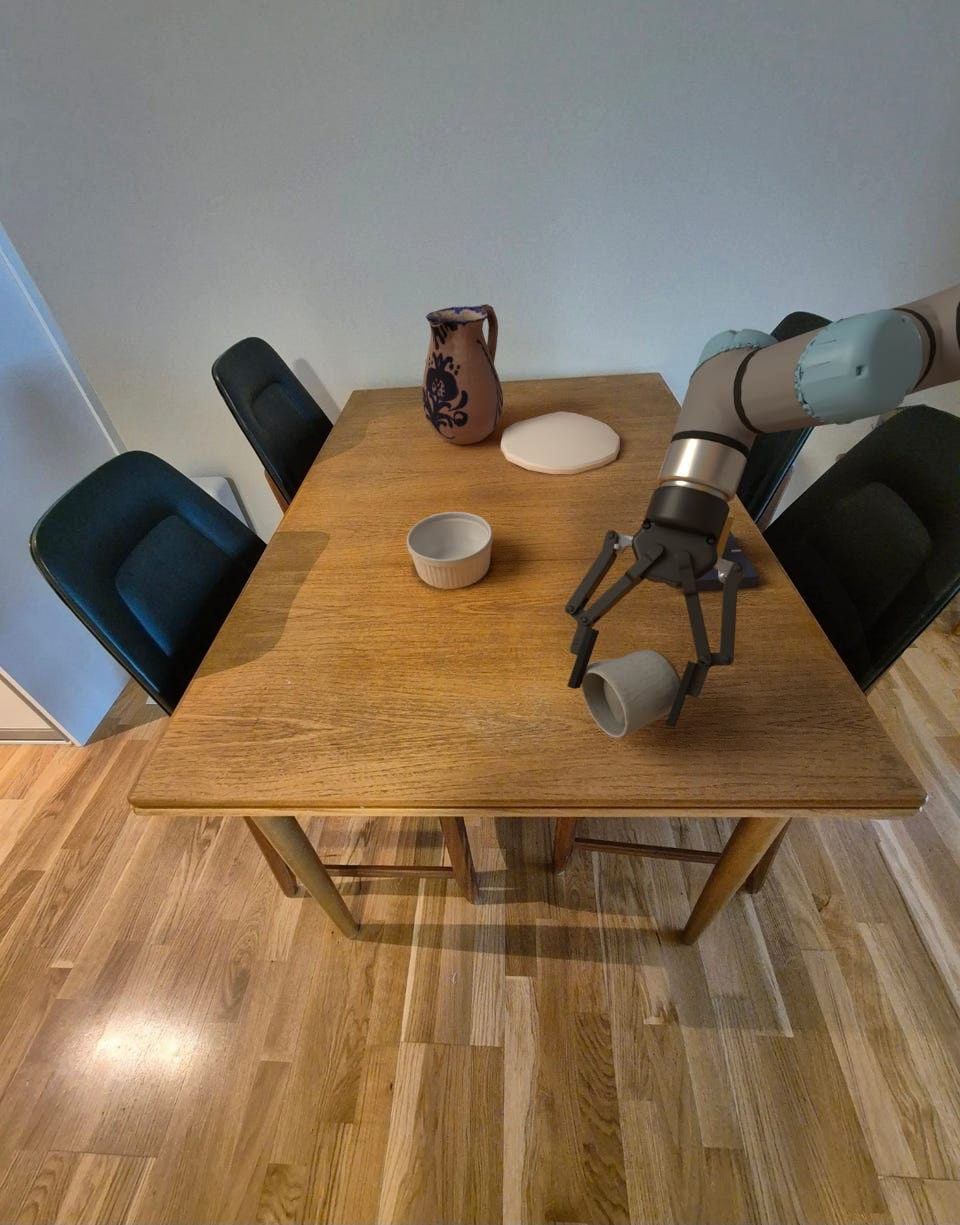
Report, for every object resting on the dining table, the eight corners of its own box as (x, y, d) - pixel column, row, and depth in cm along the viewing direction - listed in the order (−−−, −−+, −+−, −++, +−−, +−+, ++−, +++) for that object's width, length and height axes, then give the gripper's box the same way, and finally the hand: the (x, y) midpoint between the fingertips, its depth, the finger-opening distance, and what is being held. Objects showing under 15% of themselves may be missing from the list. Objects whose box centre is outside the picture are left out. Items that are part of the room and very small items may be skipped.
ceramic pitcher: (413, 446, 120) (392, 324, 102) (461, 409, 132) (450, 295, 115) (480, 460, 113) (471, 331, 95) (524, 420, 125) (522, 300, 108)
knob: (720, 562, 78) (734, 515, 72) (710, 563, 78) (724, 515, 73) (708, 542, 82) (721, 495, 76) (699, 543, 82) (712, 496, 76)
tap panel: (753, 592, 78) (759, 575, 75) (684, 596, 78) (688, 580, 76) (724, 543, 86) (729, 527, 84) (662, 547, 87) (665, 531, 84)
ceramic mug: (681, 719, 57) (695, 672, 52) (621, 753, 55) (629, 707, 50) (617, 658, 64) (624, 611, 59) (561, 685, 62) (564, 639, 57)
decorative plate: (481, 422, 116) (578, 397, 123) (482, 440, 119) (577, 414, 126) (535, 470, 99) (646, 438, 106) (535, 490, 102) (643, 457, 109)
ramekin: (456, 535, 93) (452, 501, 88) (511, 566, 86) (510, 531, 81) (397, 572, 87) (389, 537, 82) (451, 609, 79) (446, 572, 75)
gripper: (810, 530, 52) (734, 743, 53) (595, 484, 61) (534, 667, 63) (824, 510, 45) (736, 756, 46) (579, 462, 55) (511, 668, 56)
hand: (620, 705), depth 55 cm, fingers closed on ceramic mug, 10 cm apart
